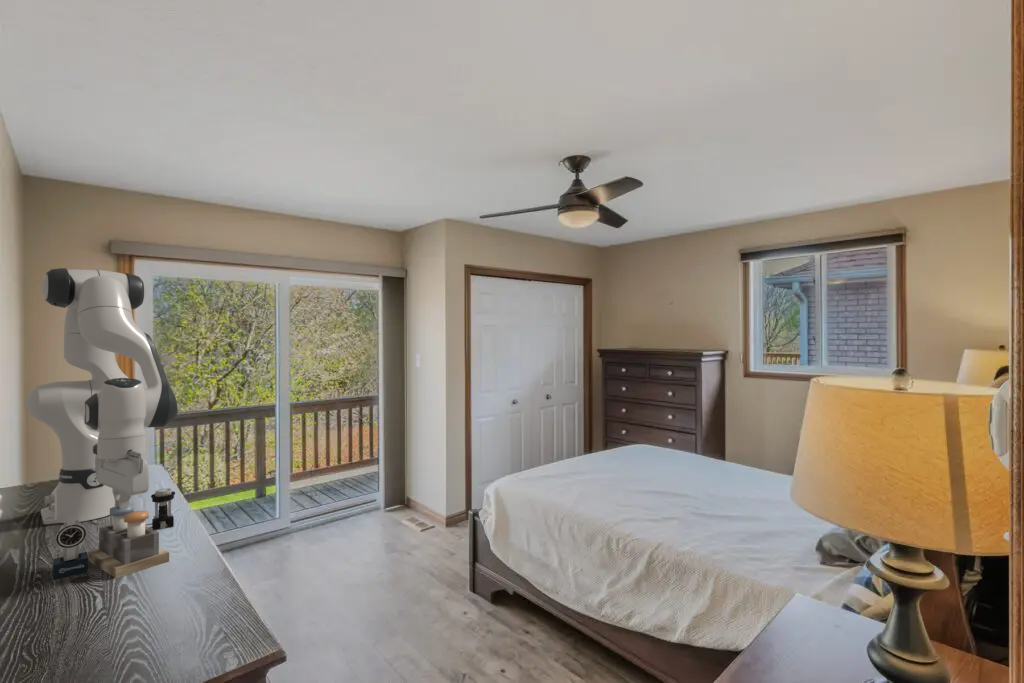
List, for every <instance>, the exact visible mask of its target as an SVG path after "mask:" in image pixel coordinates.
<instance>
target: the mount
mask: <svg viewBox="0 0 1024 683" xmlns="http://www.w3.org/2000/svg"><path fill="white" fill-rule="evenodd" d="M149 527H150V526H149ZM149 527H148V526H145V535H142V536H138V537H134V538H131V539H127V528H125V529H122V530H118V531H113V524H110V525H106V526H102V527H99V532H98V534H99V535H98V537H99V538H98V539H99V541H98V548H96V549H93V550H89V551H87V554H88V562H90V563H91V564H93V565H95V566H96V567H97V568H99V569H100V570H101V571H104V573H105V572H106V573H107V574H108V575H110V576H111V577H113V578H114V579H119V578H122V577H124V576H129V575H131V574H134V573H137V572H140V571H143V570H147V569H149V568H153V567H155V566H159V565H162V564H164V563H167V562H170V552H169V551H167V550H166V549H163V548H162V547H160V532H159V531H157V530H153V529H152V528H149Z"/></svg>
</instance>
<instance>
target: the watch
mask: <svg viewBox="0 0 1024 683" xmlns="http://www.w3.org/2000/svg"><path fill="white" fill-rule="evenodd" d="M81 522H82V521H81ZM81 522H78V520H74V521H69V522H64V523H63V525H61V526H60V529H59V531H58V532H57V533H56V536H55V543H56V545H57V546H58V549H59V551H60V553H61V554H63V556H61V557H56V558H53V563H52V564H53V565H52V566H53V567H52V568H53V569H52V571H53V572H52V580H53V581H57V580H60V579H65V578H69V577H74V576H77V575H82V574H85V573H88V572H89V561H88V551H84V552H79V550H82V547H83V545H84V541H85V539H86V537H88V536H90V533H89V531H87V530H86V528H85V527H84V526H83V524H82V523H81Z"/></svg>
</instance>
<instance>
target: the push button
mask: <svg viewBox="0 0 1024 683" xmlns="http://www.w3.org/2000/svg"><path fill="white" fill-rule="evenodd" d="M175 495H176V492H175V491H172V489H171V488H161V489H157V490H155V491H154V493H153V494H151V495H150V498H151V501H152V503H154V515H153V518H152V521H151V523H147V524H146V523H145V527H148V526H149V528H151V529H153V530H155V531H157V530H161V529H167V528H173V527H174V524H175V519H174V518H175V517H174V515H173V513H172V500H173V499H175Z"/></svg>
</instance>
